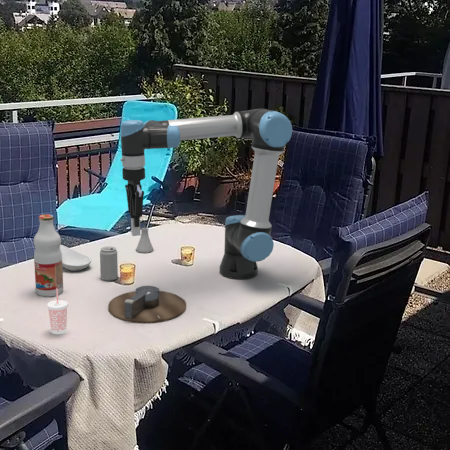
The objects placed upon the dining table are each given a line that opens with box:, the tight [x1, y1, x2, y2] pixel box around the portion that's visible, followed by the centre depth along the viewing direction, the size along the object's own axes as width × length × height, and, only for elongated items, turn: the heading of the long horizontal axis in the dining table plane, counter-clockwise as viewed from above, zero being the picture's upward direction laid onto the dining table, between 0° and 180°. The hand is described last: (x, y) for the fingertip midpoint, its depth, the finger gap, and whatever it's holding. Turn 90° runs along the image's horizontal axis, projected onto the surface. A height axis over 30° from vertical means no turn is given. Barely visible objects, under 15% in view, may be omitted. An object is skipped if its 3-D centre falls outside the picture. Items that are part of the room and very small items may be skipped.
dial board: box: [107, 290, 187, 324], centre depth 213 cm, size 26×26×1 cm
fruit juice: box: [33, 213, 64, 297], centre depth 220 cm, size 9×9×28 cm
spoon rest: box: [60, 244, 92, 272], centre depth 251 cm, size 24×12×7 cm, turn 51°
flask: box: [135, 227, 154, 254], centre depth 271 cm, size 7×7×10 cm
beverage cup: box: [46, 288, 69, 335], centre depth 192 cm, size 6×6×14 cm
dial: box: [125, 285, 160, 319], centre depth 208 cm, size 17×8×6 cm, turn 159°
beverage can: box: [99, 246, 119, 282], centre depth 236 cm, size 6×6×12 cm
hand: (136, 235), depth 217 cm, fingers closed
